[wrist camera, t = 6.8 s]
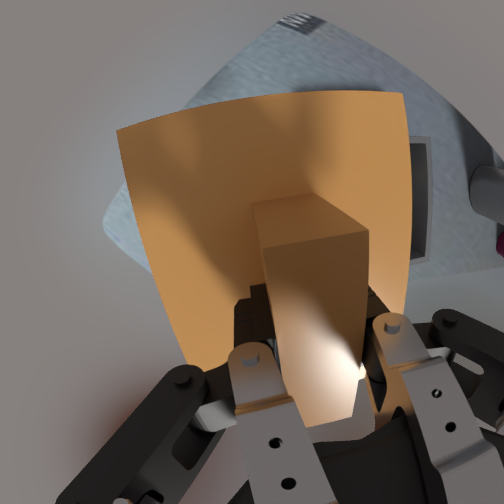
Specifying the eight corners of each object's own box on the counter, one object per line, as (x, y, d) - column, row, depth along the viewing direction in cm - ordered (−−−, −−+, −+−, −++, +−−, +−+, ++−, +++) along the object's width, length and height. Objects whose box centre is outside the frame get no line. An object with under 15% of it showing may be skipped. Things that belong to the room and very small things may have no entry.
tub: (399, 135, 31) (429, 136, 24) (403, 242, 37) (428, 260, 30) (321, 139, 31) (341, 138, 24) (332, 256, 37) (350, 279, 30)
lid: (379, 98, 11) (481, 80, 4) (379, 349, 17) (421, 424, 11) (134, 132, 11) (40, 128, 5) (209, 382, 17) (203, 471, 11)
